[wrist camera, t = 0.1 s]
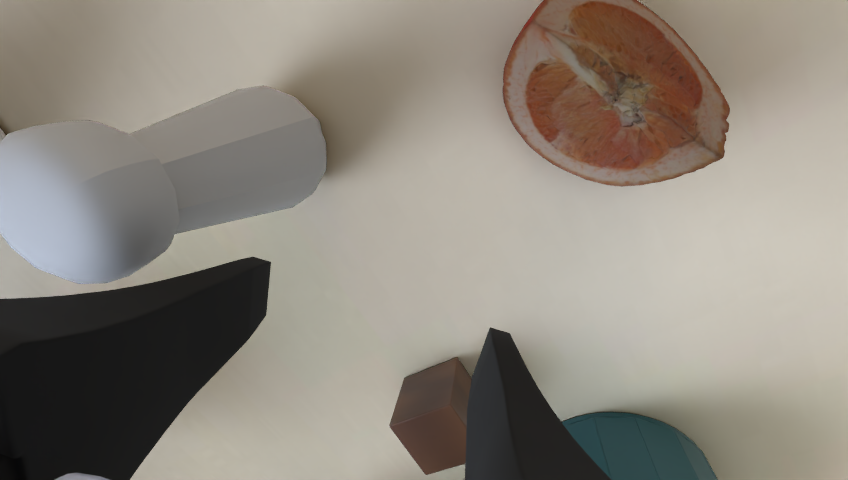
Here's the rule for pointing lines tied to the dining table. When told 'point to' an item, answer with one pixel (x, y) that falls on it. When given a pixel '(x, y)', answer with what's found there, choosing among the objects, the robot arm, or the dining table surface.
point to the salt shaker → (152, 181)
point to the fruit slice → (613, 93)
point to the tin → (638, 447)
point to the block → (434, 416)
